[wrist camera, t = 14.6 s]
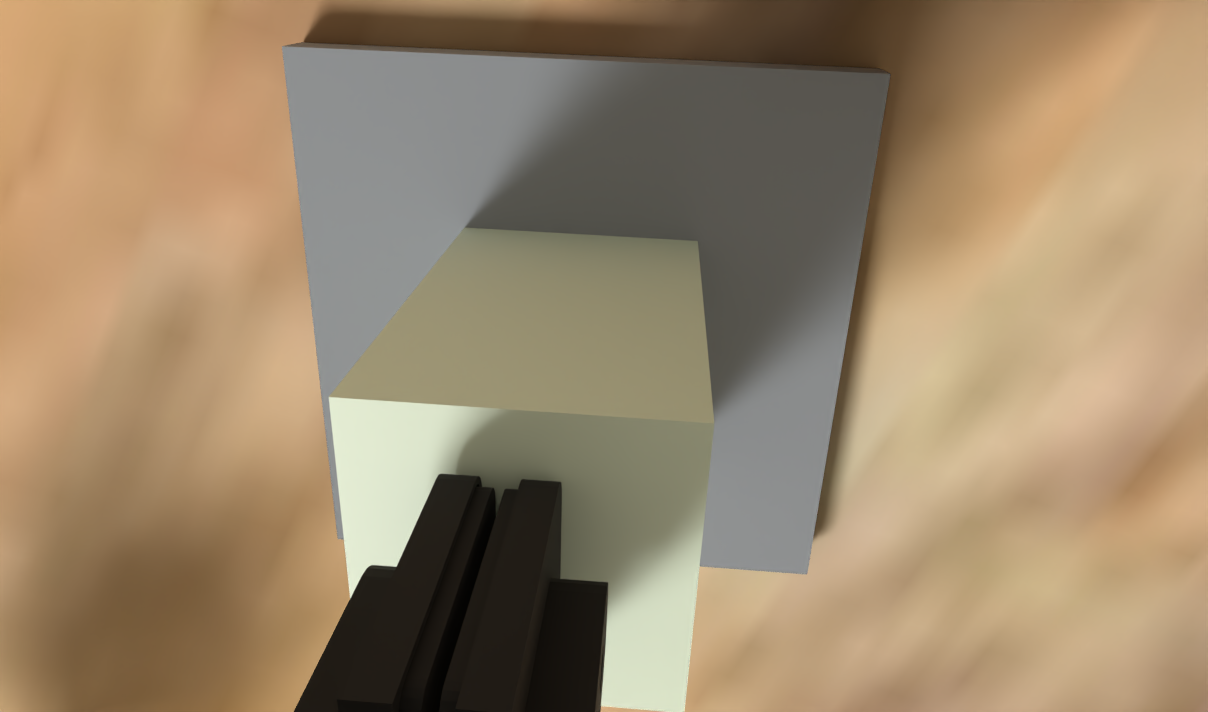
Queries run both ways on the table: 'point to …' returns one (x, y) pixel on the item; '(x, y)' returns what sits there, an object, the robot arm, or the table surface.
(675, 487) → the sage block
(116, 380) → the table surface
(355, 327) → the slate pad
